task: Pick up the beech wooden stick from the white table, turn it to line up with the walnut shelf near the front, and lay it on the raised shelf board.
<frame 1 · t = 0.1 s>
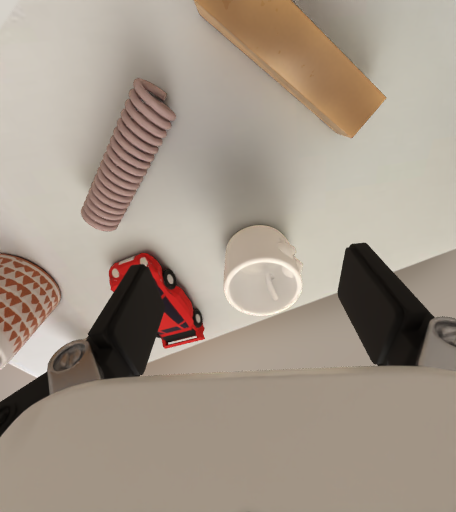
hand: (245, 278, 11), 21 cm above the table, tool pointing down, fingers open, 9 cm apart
coil: (132, 162, 29), on the table
toy car: (162, 295, 42), on the table
planter: (22, 283, 41), on the table
stick: (288, 59, 23), on the table
mug: (262, 253, 36), on the table
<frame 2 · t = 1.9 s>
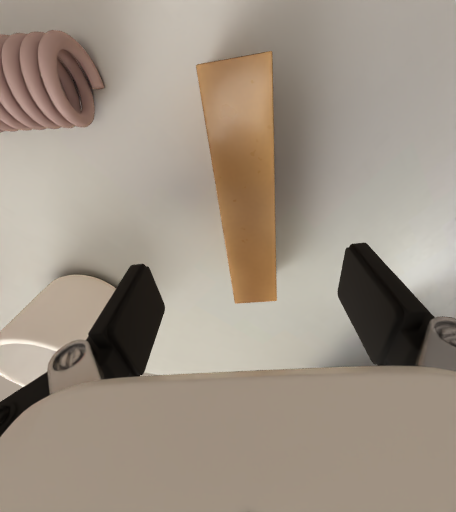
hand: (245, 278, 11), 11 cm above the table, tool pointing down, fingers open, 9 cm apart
stick: (246, 197, 20), on the table
mug: (98, 305, 29), on the table
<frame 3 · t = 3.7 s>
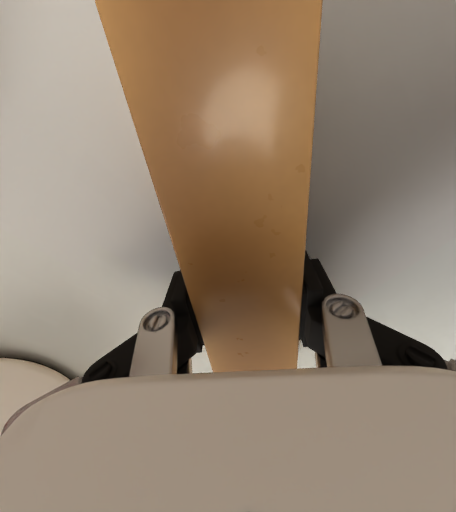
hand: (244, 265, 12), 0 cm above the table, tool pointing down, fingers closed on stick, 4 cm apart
stick: (244, 262, 12), on the table, touching gripper
mug: (40, 385, 21), on the table
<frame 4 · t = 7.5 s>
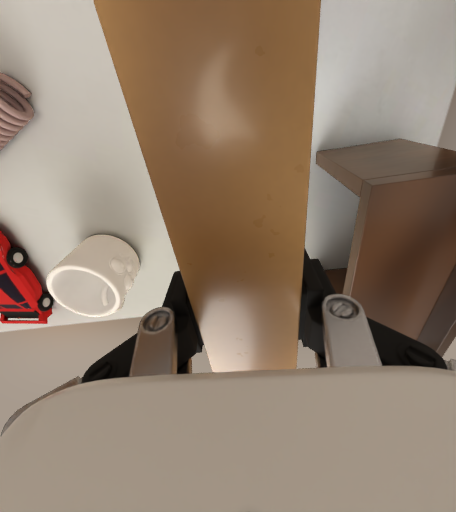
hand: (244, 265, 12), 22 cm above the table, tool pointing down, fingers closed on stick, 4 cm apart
shelf: (346, 221, 34), on the table
toy car: (13, 270, 41), on the table
stick: (244, 262, 12), point 22 cm above the table, touching gripper
mug: (118, 260, 39), on the table
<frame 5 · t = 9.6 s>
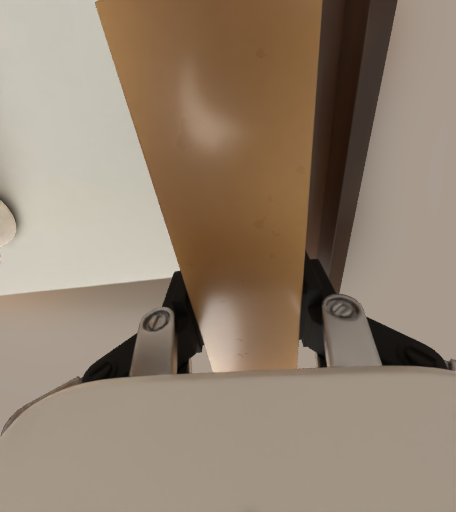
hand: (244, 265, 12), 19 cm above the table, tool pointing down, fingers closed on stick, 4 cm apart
shelf: (252, 167, 28), on the table
stick: (244, 263, 12), point 19 cm above the table, touching gripper
when the fingers open (14 cm above the table, at t = 11.2 s): stick stays where it is, resting on shelf.
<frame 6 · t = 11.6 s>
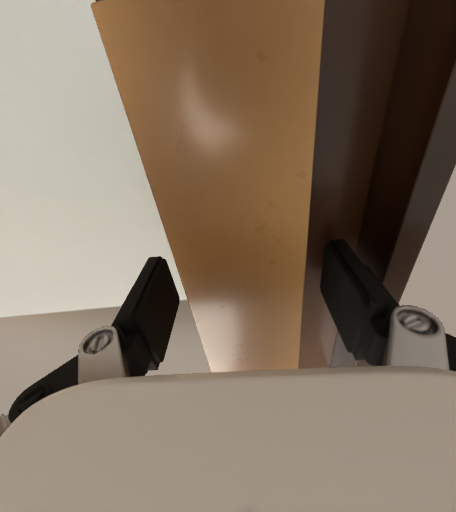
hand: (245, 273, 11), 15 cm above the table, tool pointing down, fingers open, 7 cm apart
shelf: (254, 182, 23), on the table
stick: (244, 266, 12), point 14 cm above the table, touching shelf
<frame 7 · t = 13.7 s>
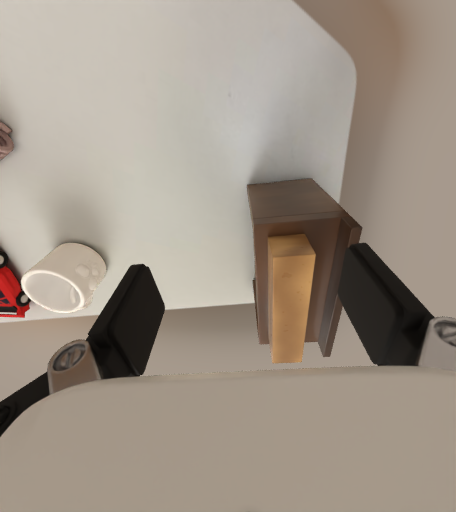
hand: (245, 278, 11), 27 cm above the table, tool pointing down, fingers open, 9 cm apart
shelf: (278, 239, 41), on the table
stick: (283, 295, 30), point 14 cm above the table, touching shelf
mug: (88, 264, 45), on the table
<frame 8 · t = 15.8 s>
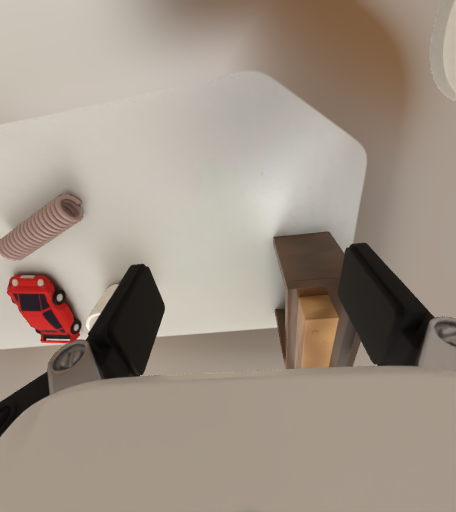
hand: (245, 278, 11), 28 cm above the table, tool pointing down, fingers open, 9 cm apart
shelf: (298, 278, 47), on the table
coil: (49, 223, 42), on the table
toy car: (52, 303, 54), on the table
stick: (308, 336, 36), point 14 cm above the table, touching shelf
mug: (132, 299, 53), on the table
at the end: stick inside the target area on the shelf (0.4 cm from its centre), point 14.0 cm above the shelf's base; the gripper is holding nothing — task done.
